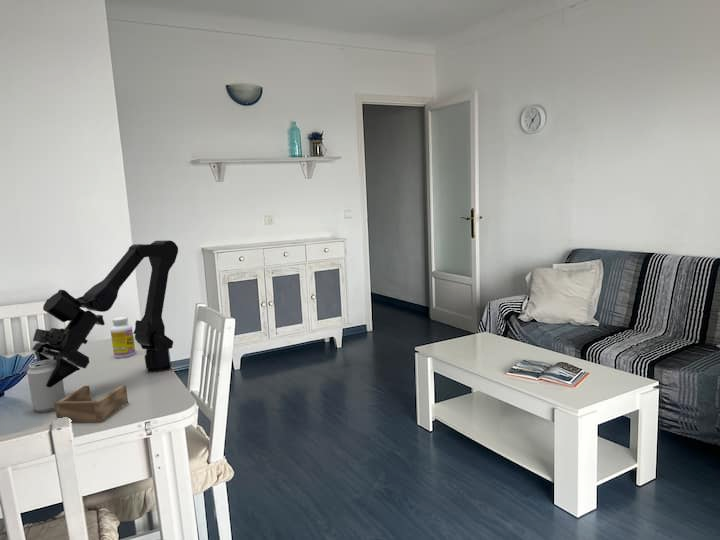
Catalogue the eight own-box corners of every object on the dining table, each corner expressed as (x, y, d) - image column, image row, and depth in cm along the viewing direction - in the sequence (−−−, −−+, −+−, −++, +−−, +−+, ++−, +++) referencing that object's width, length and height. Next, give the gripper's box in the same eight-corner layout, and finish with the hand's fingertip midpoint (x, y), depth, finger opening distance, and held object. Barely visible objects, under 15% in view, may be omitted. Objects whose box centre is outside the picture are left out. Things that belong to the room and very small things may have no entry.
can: (35, 405, 143) (28, 361, 141) (67, 399, 146) (60, 355, 144) (31, 415, 136) (23, 369, 134) (65, 408, 139) (57, 363, 137)
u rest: (87, 403, 141) (84, 385, 141) (128, 403, 140) (125, 385, 139) (57, 422, 130) (54, 403, 130) (101, 422, 129) (98, 402, 128)
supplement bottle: (130, 357, 181) (125, 320, 179) (110, 359, 181) (105, 321, 179) (138, 351, 187) (133, 315, 185) (119, 353, 187) (114, 316, 186)
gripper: (34, 312, 146) (-5, 365, 139) (70, 318, 135) (30, 375, 128) (68, 333, 153) (33, 384, 146) (105, 340, 143) (69, 395, 135)
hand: (40, 384), depth 139 cm, fingers closed on can, 7 cm apart
